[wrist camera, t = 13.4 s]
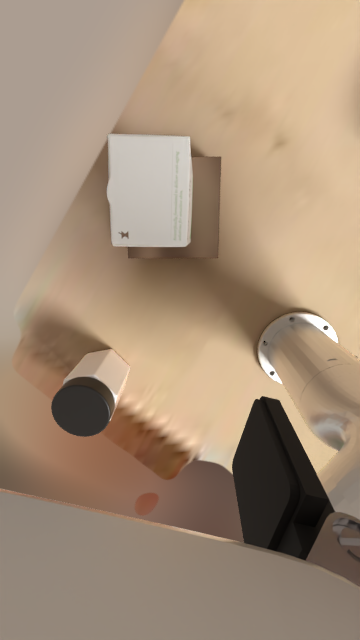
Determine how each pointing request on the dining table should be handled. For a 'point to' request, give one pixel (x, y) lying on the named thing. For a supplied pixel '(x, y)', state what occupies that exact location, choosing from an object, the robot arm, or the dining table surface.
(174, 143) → the skincare box
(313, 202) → the dining table surface
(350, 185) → the dining table surface
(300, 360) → the robot arm
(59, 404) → the hexagonal capped bottle
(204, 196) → the walnut block
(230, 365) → the dining table surface
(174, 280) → the dining table surface
